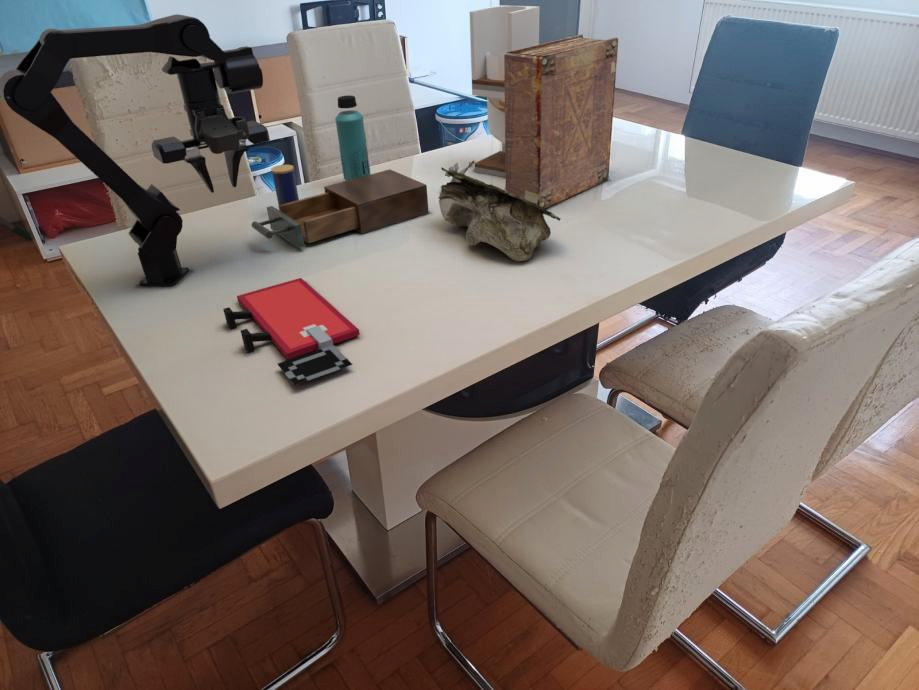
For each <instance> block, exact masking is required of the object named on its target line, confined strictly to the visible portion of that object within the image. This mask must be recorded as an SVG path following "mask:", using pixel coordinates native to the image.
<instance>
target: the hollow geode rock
mask: <svg viewBox="0 0 919 690" xmlns="http://www.w3.org/2000/svg"><path fill="white" fill-rule="evenodd" d="M440 170H441V171H443V172H445V173H446V172H447V174H449V175H450V177H451V178H453V177H454V178H455V179H458V181H459V180H460V181H461V182H450V181H449V182H446V184H442V185H441V186H440V193H439V196H438V199H439V200H438V204H439V208H440V209H439V210H440V212H441V215H442V217H443V219H444V221H446V222H449V223H450V224H452V225H455V226H456V227H458V228H461V227H462V228H464V227H465V228H467V230H466V233H465V236H464V237H465V241H466V242H467V243H468V244H469V245H472V246H477V245H478V244H479V243H480V242H482V243H487V244H488V245H490V246H493V247H494V248H496V249H498V250H499V251H500V252H502V253H504V255H506V256H507V257H508V258H509V259H511V260H512V261H515V262H523V261H527V260H530V259H531V258H532V257H533V254H534V250H535V249H536V247H538V246H539V245H540V244H541V242H544V241H546V240H548V239H549V238H550V237H551V233H552V231H551V228H550V226H549V224H548V223H547V221H546V219H545V216H548V217H550V218H551V219H555V220H557V221H558V222H560V221H561V220H562V219H561V217H559V216H557V215H555V214H554V213H552V212H551V211H548V210H547V209H544V208H542V207H541V206H539V205H537V204H536V203H532V202H530V201H528V200H526V199H524V198H523V197H520V196H516V195H513V194H511V193H509V192H507V191H506V189H503V188H500V187H498V186H497V185H493V184H491V183H490V184H488V183H486V182H484V181H482V180H480V179H476V178H473V177H472V176H470V175H469V176H468V175H467V174H465V175H464V174H462V173H458V172H459V171H458V172H456V171H453V170H451V171H450V170H449V169H446V168H444V167H442V166H441V167H440ZM450 177H449V176H446V178H450Z"/></svg>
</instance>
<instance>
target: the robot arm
mask: <svg viewBox="0 0 919 690" xmlns="http://www.w3.org/2000/svg"><path fill="white" fill-rule="evenodd" d="M143 53H144V54H145V53H156V54H162V55H163V54H164V55H170V56H168V57H167V61H166V62H165V64H164V65H163V66H162V68H161V71H162V73H165V74H166V75H169V76H172V75H176V76H177V80H178V85H179V88H180V92H181V96H182V100H183V109H184V112H186V116H187V119H188V123H189V127H190V129H189V132H190V136H192V138H191V139H190V138H188V139H185V140H180V139H179V138H177V137H175V136H169V137H164V138H158V139H154V140H153V141H152V143H151V151H152V154H153V157H154V158H155V159H156V160H158V161H159V162H161V163H162V164H163V165H164V164H173V163H176V162H181V161H183V162H185V163H187V164H190V165H191V166H192V168H193V169H194V170H195V171H196V173H197V174H198V175H199V177H200V179H201V180H202V182H203V183H204V184H205V187H206V188H207V189H208V191H209V192H210V193H212V194H213V193H215V190H214V184H213V181H212V179H211V176H210V173H209V170H208V166H207V163H206V162H207V161H206V160H207V159H206V157H205V156H203V155H202V154H201V151H200V150H203V149H209V151H210V152H211V153H212V154H215V155H220V154H224V159H225V163H226V168H227V174H228V177H229V181H230V183H231V187H233V188H236V187H237V185H238V177H239V169H240V163H241V159H242V157H243V155H244V154H245V152H249V151H250V149H251V148H250V147H251V146H249V145H248V144H247V143H246V142H247V141H249V142H250V143H251V144H253V145H258V144H262V143H268V142H269V141H270V134H269V129H268V127H267V126H266V125H264V124H262V123H260V122H259V121H255V120H249V121H247V119H246V117H245V116H244V115H238V116H233V117H231V118H229V117H228V115H227V113H226V109H225V108H224V104H222V103H221V98H220V94H219V90H218V88H219V89H221V90H222V89H223V90H224V91H225V92H226V93H227V94H228V95H230V94H236V93H242V92H248V91H254V90H259V89H261V88H263V85H264V77H263V75H264V74H263V71H262V70H263V69H262V68H261V66H260V63H259V61H258V59H257V58H256V56H255V55H254V52H253V48H252V47H251V46H247V45H245V46H239V47H238V48H234V49H229V50H223V49H221V47H220V46H219V45H218V44H217V43H216V42H215V41H214V40H213V39H212V38H211V36H210V32H209V29H208V28H207V26H206V25H205V23H203V21H201V20H200V19H199V18H197V17H193V16H190V15H184V14H179V13H176V14H171V15H168V16H164V17H160V18H156V19H154V20H150V21H148V22H144V23H140V24H136V25H135V24H134V25H119V26H118V25H117V26H103V27H101V26H99V27H83V28H69V29H68V28H67V29H59V28H58V29H57V28H47V29H45V30H44V31H42V32H41V34H40V36H39V38H38V39H37V41H36V43H35V44H34V45H33V47H31V49H30V50H29V51H28V52H27V53H26V54H25V56H24V57H23V58H22V59H21V60H20V62H19V64H17V66H16V68H15V69H11V70H8V71H6V72H4V73H3V74H1V76H0V98H1V99H2V100H3V101H4V103H5V104H6V105H7V106H8V107H9V108H10V110H12V111H13V112H14V113H16V114H17V115H18V116H20V117H21V118H23V119H24V120H25V121H27V122H29V123H30V124H32V125H34V126H35V127H36V128H37V129H40V130H41V131H43V132H44V133H46V134H48V135H49V136H51V137H52V138H54V139H55V140H57V142H59V144H61V145H62V146H63V147H64V148H65V150H67V151H68V152H70V153H71V154H72V155H73V156H74V157H75V158H76V159H77V160H78V161H79V162H81V164H83V165H84V166H85V167H86V168H87V169H88V170H89V171H90V172H91V173H93V174H94V175H95V176H96V177H97V178H98V179H99V180H100V181H102V183H104V184H105V185H106V186H107V187H108V188H109V189H110V190H111V191H112V192H114V193H115V194H116V195H117V196H118V197H119V198H120V199H121V200H122V201H123V203H124V204H125V205H126V207H127V209H128V210H129V211H130V213H132V215H133V216H134V218H135V219H136V220H135V222H134V223H133V225H132V227H131V228H130V229H129V231H128V236H129V237H130V238H131V239H132V240H133V241H134V243H135V244H137V245H138V246H139V247H138V248H137V250H138V251H137V256H138V259H139V262H140V266H141V268H142V272H143V274H144V277H143V278H142V279H141V280H140V281H139V282H138V283H139V286H152V287H153V286H154V287H157V286H158V287H173V286H175V285H176V284H177V283H178V282H180V280H181V279H182V278H183V277H184V276H186V275H187V274H188V273H189V272H190V267H187V266H186V267H184V266H183V267H182V264H181V260H180V258H179V253H178V251H177V243H178V236H179V235H180V234H181V232H182V229H183V223H184V222H183V218H182V216H181V215H180V213H179V211H181V209H180V208H179V207H178V206H177V205H176V204H175V203H173V202H172V201H171V199H170V200H169V198H168V197H166V195H165V194H164V193H163V192H162V191H161V190H160V189H159V188H158V187H156V186H155V185H154V184H153V183H151V184H150V185H149V186H148V188H147V189H146V188H145V187H143V186H142V185H140V184H138V183H137V181H135V180H134V179H133V178H132V177H131V176H130V175H129V174H128V173H127V172H126V171H125V170H124V169H123V168H122V167H121V166H120V165H119V164H117V162H116V161H114V160H113V159H112V157H110V156H109V155H108V154H107V153H106V152H105V151H104V150H102V148H101V147H99V145H98V144H96V143H95V142H94V141H93V140H92V139H91V138H90V137H89V136H88V135H87V134H86V133H85V132H84V131H83V130H82V129H81V128H80V127H78V125H76V123H74V121H73V120H72V118H71V117H70V115H68V114H67V112H66V110H65V109H64V108H63V106H62V105H61V104H60V102H59V101H58V100H57V98H56V97H55V96H54V94H53V93H52V91H53V89H54V88H55V87H56V85H57V84H58V82H59V80H60V78H61V76H62V74H63V71H64V70H65V68H66V66H67V64H68V63H69V61H70V60H71V59H81V58H92V57H93V58H94V57H95V58H96V57H105V56H107V57H109V56H117V55H119V56H120V55H131V54H143ZM174 56H180V57H190V58H188V59H181V60H178V59H177V58H176V57H174ZM197 57H198V58H199V57H201V58H204V59H207V60H209V61H208V62H201V63H200V61H199V60H198V59H197Z"/></svg>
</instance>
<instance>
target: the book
mask: <svg viewBox="0 0 919 690" xmlns="http://www.w3.org/2000/svg"><path fill="white" fill-rule="evenodd" d="M618 49H619V38H618V37H612V38H608V39H601V38H600V39H597V38H586V37H584V35H583V34H577V35H572V36H569V37H564V38H561V39H557V40H552V41H549V42H545V43H539V45H536V46H532V47H527V48H523V49H519V50H515V51H511V52H507V53H505V54H504V77H505V173H506V177H505V191H507V192H509V193H511V194H513V195H516V196H520V197H523V198H524V199H526V200H528V201H530V202H532V203H536V204H537V205H539V206H541V207H542V208H544V209H546V210H547V209H549V208H551V207H553V206H555V205H558V204H560V203H562V202H564V201H567V200H569V199H571V198H573V197H575V196H577V195H579V194H582V193H583V192H586V191H588V190H590V189H592V188H595V187H597V186H598V185H601V184H603V183H605V182H607V181H609V176H610V165H611V163H610V162H611V161H610V160H611V148H612V147H611V146H612V135H613V119H614V105H615V91H616V80H617V79H616V78H617V63H618Z"/></svg>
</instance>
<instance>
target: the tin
mask: <svg viewBox="0 0 919 690" xmlns="http://www.w3.org/2000/svg"><path fill="white" fill-rule="evenodd" d="M270 172H271V173H272V179H273V183H274V189H275V194H276V201H277V204H278V205H277V206H279V205H282V204H286V203H290V202H293V201H297V200H300V197H299V193H298V192H299V191H298V188H297V187H298V186H297V180H296V175H295V167H294V165H292V164H279V165H275V166H272V167H271V168H270Z"/></svg>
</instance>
